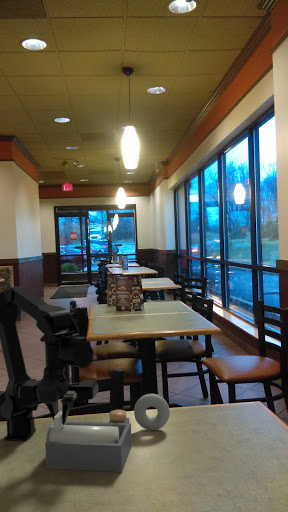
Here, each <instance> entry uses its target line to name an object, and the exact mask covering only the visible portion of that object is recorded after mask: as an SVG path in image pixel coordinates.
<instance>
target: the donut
mask: <svg viewBox="0 0 288 512" xmlns="http://www.w3.org/2000/svg"><path fill="white" fill-rule="evenodd" d="M150 407H151V408H152V407H153V408H155V409H156V410H157V414H156V415H155V416H153V417H151V416H149V415H148V414H147V409H148V408H150ZM170 411H171V410H170V406H169V403H168V402H167V401H166V400H165V399H164V397H162V396H161V395H159V394H156V393H148V394H145V395H142V396H141V397H139V398H138V399H137V401H136V403H135V405H134V409H133V415H134V420H135V421H136V422H137V424H138V426H139V427H141V428H142V429H144V430H147V431H153V432H154V431H159V430H160V429H162V428H163V427H164V426H166V424H167V423H168V421H169V419H170V413H171V412H170Z"/></svg>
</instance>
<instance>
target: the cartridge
mask: <svg viewBox="0 0 288 512" xmlns="http://www.w3.org/2000/svg"><path fill="white" fill-rule="evenodd" d="M65 424H66V423H65ZM65 424H64V425H63V424H62V410H58V413H57V415H56V416H55V417H54V420H53V423H52V424H49V425H50V426H49V427H48V430H47V432H46V439H45V442H46V441H61V442H88V443H115V444H118V442H119V429H118V427H111V426H79V425H65Z"/></svg>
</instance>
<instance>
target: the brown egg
mask: <svg viewBox="0 0 288 512" xmlns="http://www.w3.org/2000/svg"><path fill="white" fill-rule="evenodd" d="M108 415H109V420H110V421H112V422H115V423H121V422H122V421H125V420H126V418H127V412H126V410H123V409H115V410H111V411H110V412H109V414H108Z"/></svg>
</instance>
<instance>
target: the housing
mask: <svg viewBox="0 0 288 512" xmlns="http://www.w3.org/2000/svg"><path fill="white" fill-rule="evenodd" d="M65 425H79V426H111V427H118V429H119V442H118V444H115V443H88V442H61V441H46V440H45V443H44V444H45V446H44V447H45V466H46V469H47V470H48V469H52V470H69V471H89V472H90V471H91V472H93V471H94V472H111V473H112V472H113V473H123V471H124V468H125V465H126V462H127V459H128V457H129V455H130V452H131V450H132V445H133V444H132V443H133V442H132V423H130V417H126V420H125V421H122V422H121V423H115V422H112V421H110V419H109V421H107V422H103V421H100V422H99V421H97V422H96V421H67V420H66V424H65Z"/></svg>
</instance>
